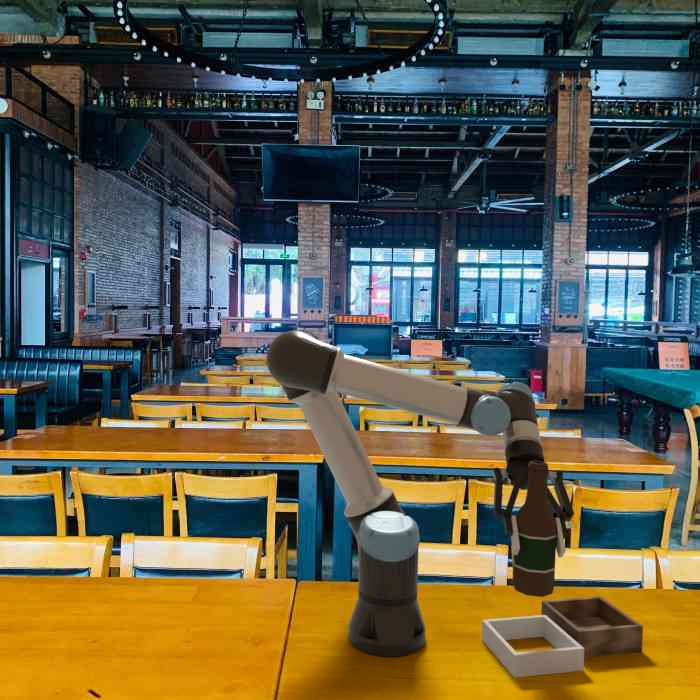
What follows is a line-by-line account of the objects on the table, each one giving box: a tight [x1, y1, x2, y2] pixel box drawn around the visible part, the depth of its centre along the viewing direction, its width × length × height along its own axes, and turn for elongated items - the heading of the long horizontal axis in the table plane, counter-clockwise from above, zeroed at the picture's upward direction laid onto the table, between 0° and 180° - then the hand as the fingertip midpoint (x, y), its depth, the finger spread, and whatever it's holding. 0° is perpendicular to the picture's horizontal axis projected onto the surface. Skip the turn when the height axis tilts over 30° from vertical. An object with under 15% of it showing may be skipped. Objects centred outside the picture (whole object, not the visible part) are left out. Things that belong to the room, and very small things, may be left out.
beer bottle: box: [512, 461, 557, 598], centre depth 117 cm, size 8×8×24 cm
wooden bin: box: [540, 596, 644, 659], centre depth 125 cm, size 14×14×5 cm
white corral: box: [481, 614, 585, 679], centre depth 118 cm, size 14×14×4 cm
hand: (539, 552), depth 114 cm, fingers closed on beer bottle, 7 cm apart
